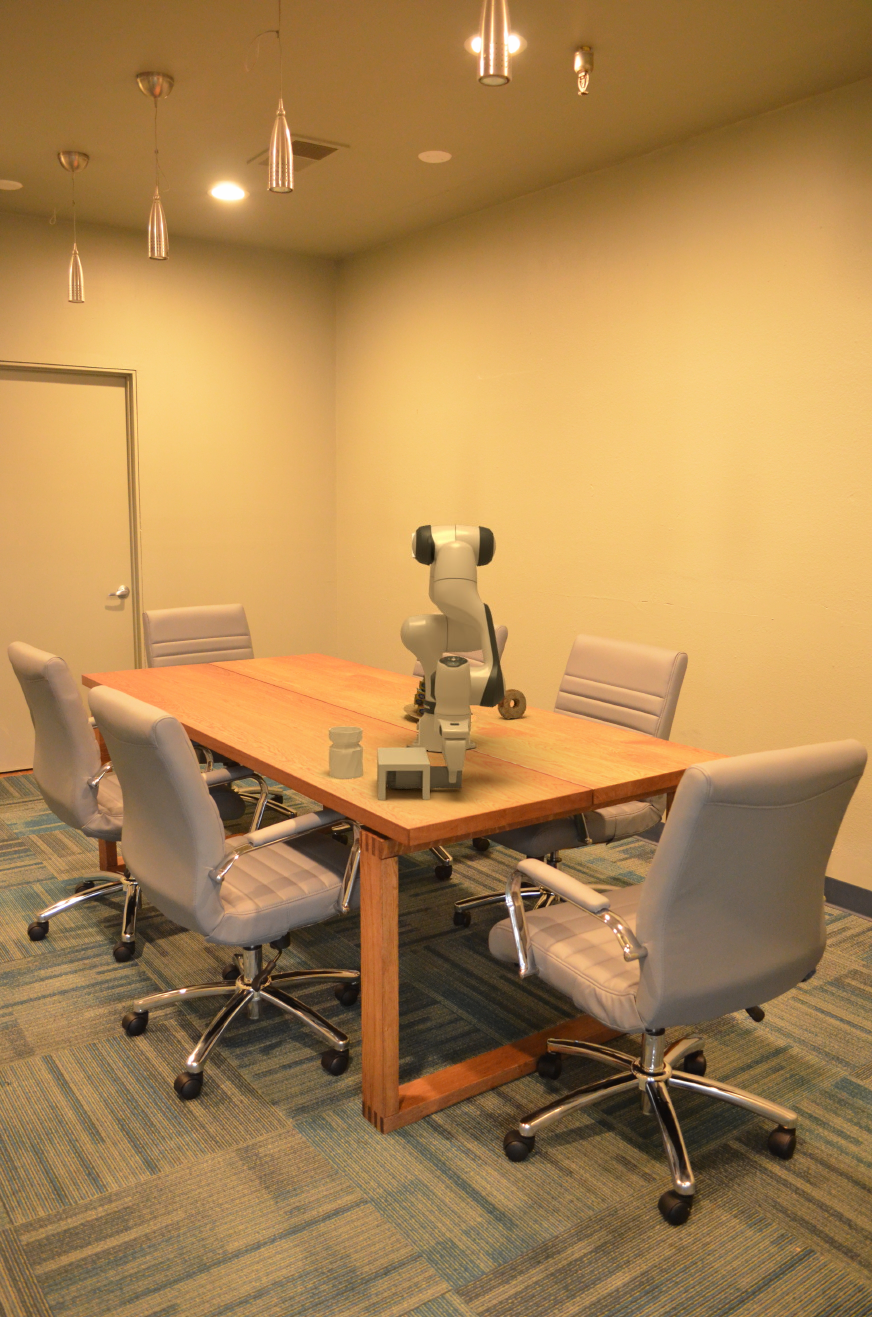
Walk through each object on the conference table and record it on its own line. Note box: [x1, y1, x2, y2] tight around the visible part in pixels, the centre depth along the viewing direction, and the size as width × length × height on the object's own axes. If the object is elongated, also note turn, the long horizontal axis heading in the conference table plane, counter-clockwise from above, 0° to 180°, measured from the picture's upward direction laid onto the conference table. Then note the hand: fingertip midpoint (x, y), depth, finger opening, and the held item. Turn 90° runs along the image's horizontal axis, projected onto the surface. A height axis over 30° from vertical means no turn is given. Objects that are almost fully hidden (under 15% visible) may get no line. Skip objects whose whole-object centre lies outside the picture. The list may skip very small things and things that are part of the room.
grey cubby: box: [376, 747, 431, 801], centre depth 240 cm, size 18×12×8 cm, turn 4°
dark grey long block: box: [386, 765, 463, 789], centre depth 241 cm, size 6×18×5 cm, turn 94°
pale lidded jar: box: [328, 725, 364, 780], centre depth 254 cm, size 9×9×12 cm
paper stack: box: [402, 674, 474, 720], centre depth 332 cm, size 25×25×17 cm
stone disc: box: [497, 688, 527, 719], centre depth 334 cm, size 10×4×10 cm, turn 116°
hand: (451, 780), depth 240 cm, fingers closed on dark grey long block
